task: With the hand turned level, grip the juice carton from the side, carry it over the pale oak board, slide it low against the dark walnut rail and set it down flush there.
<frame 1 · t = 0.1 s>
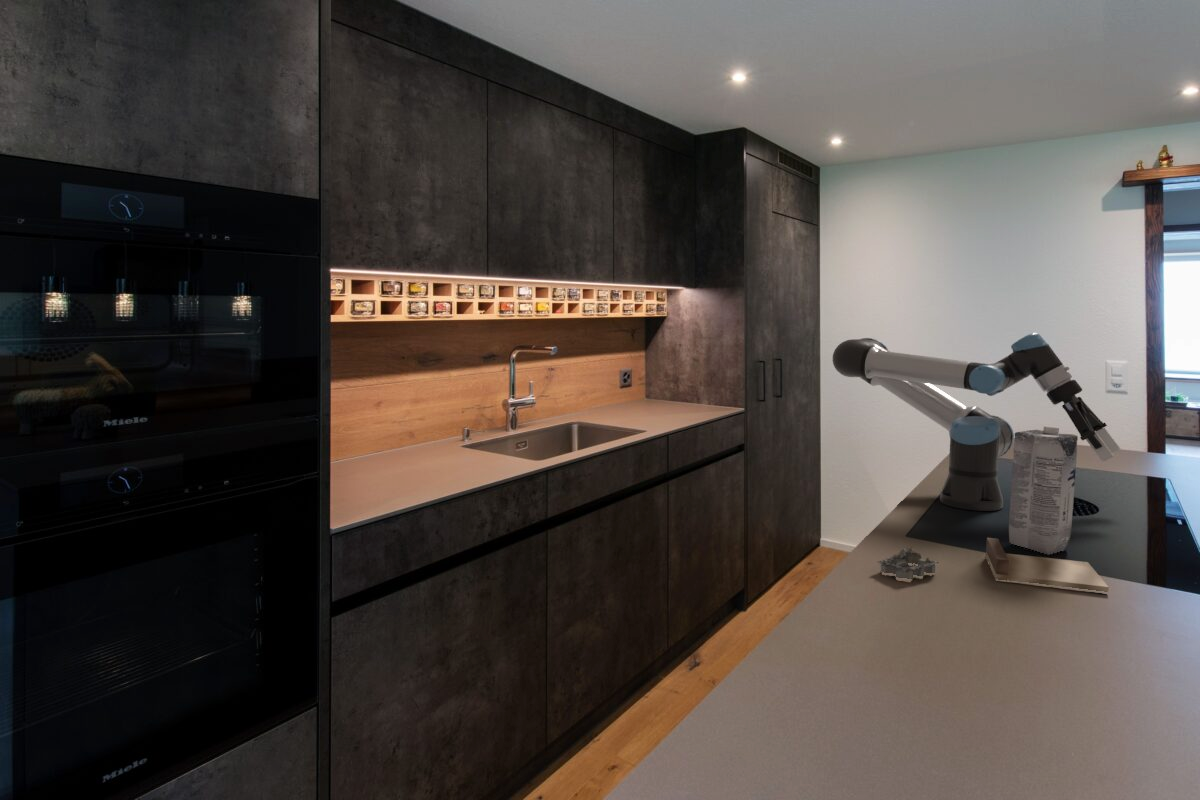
hand: (1112, 455, 177), 15 cm above the countertop, tool tilted 35°, fingers open, 13 cm apart
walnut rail: (996, 569, 139), resting on oak board
egg carton: (908, 576, 137), on the countertop
oak board: (1042, 575, 136), on the countertop
juice carton: (1037, 548, 152), on the countertop
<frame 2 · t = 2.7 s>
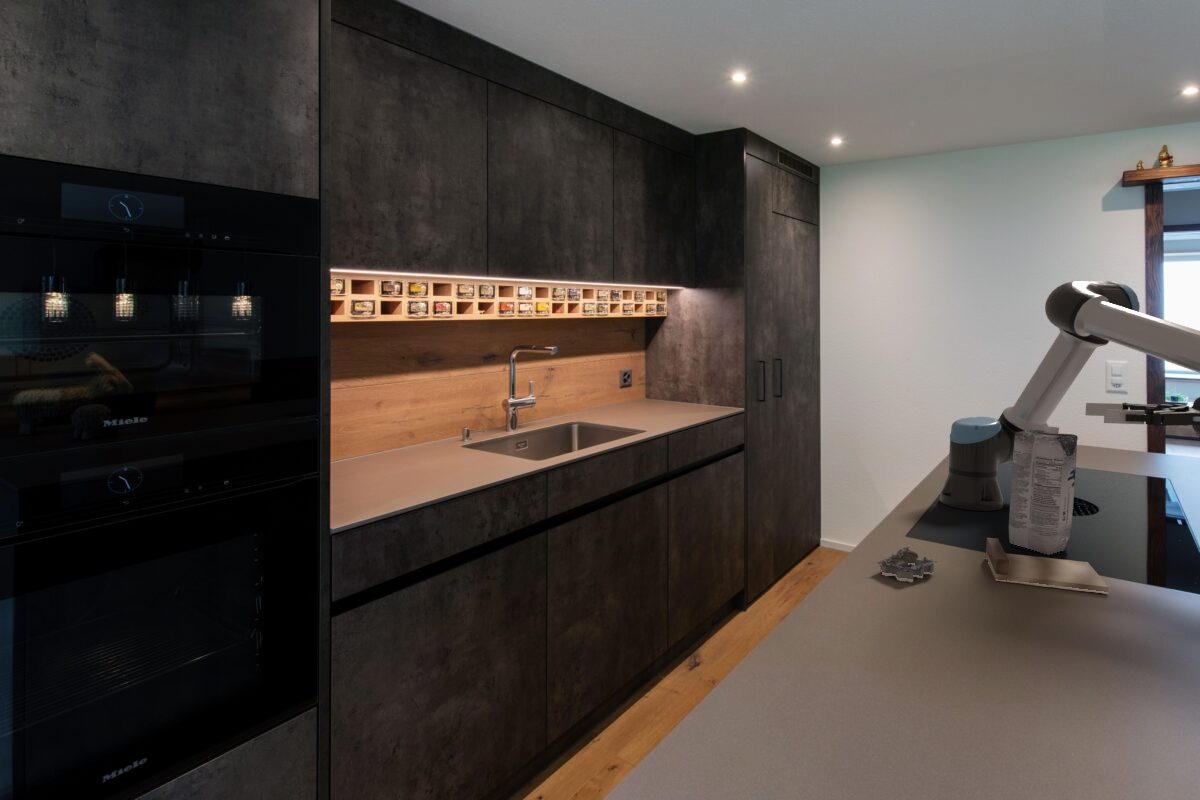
hand: (1094, 412, 146), 30 cm above the countertop, tool horizontal, fingers open, 13 cm apart
nothing on the countertop moved.
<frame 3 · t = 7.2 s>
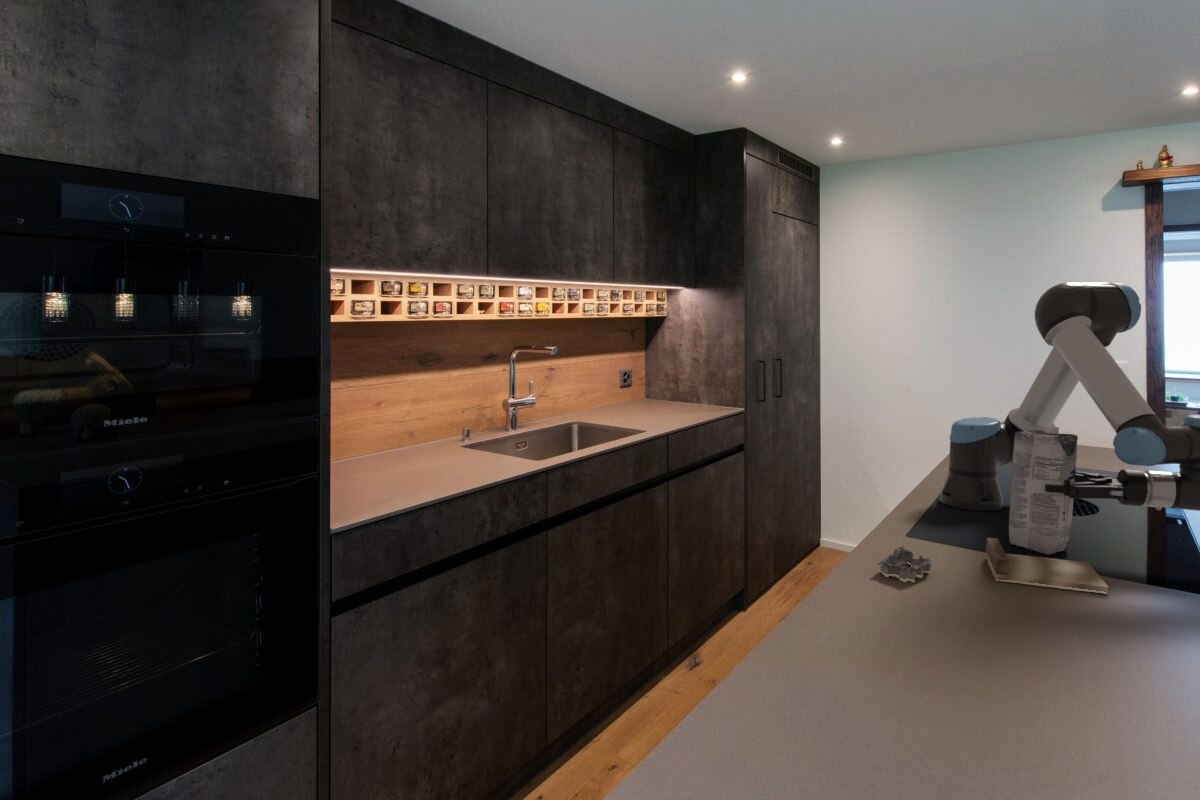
hand: (1021, 479, 152), 15 cm above the countertop, tool horizontal, fingers closed on juice carton, 11 cm apart
juice carton: (1037, 548, 152), on the countertop, touching gripper
everything else where it was.
when the fingers open (17 cm above the countertop, at t = 15.0 s): juice carton stays where it is, resting on oak board.
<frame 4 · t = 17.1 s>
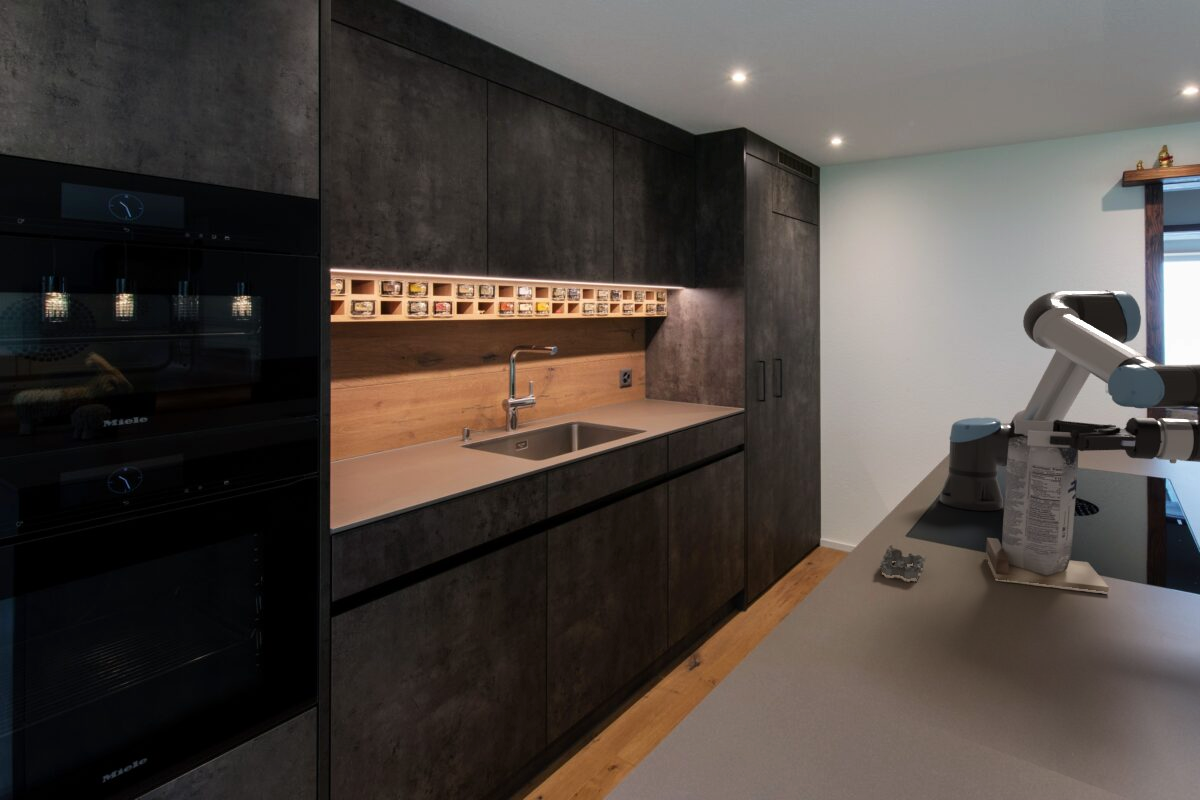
hand: (1021, 432, 134), 28 cm above the countertop, tool horizontal, fingers open, 13 cm apart
juice carton: (1034, 567, 136), point 1 cm above the countertop, touching oak board
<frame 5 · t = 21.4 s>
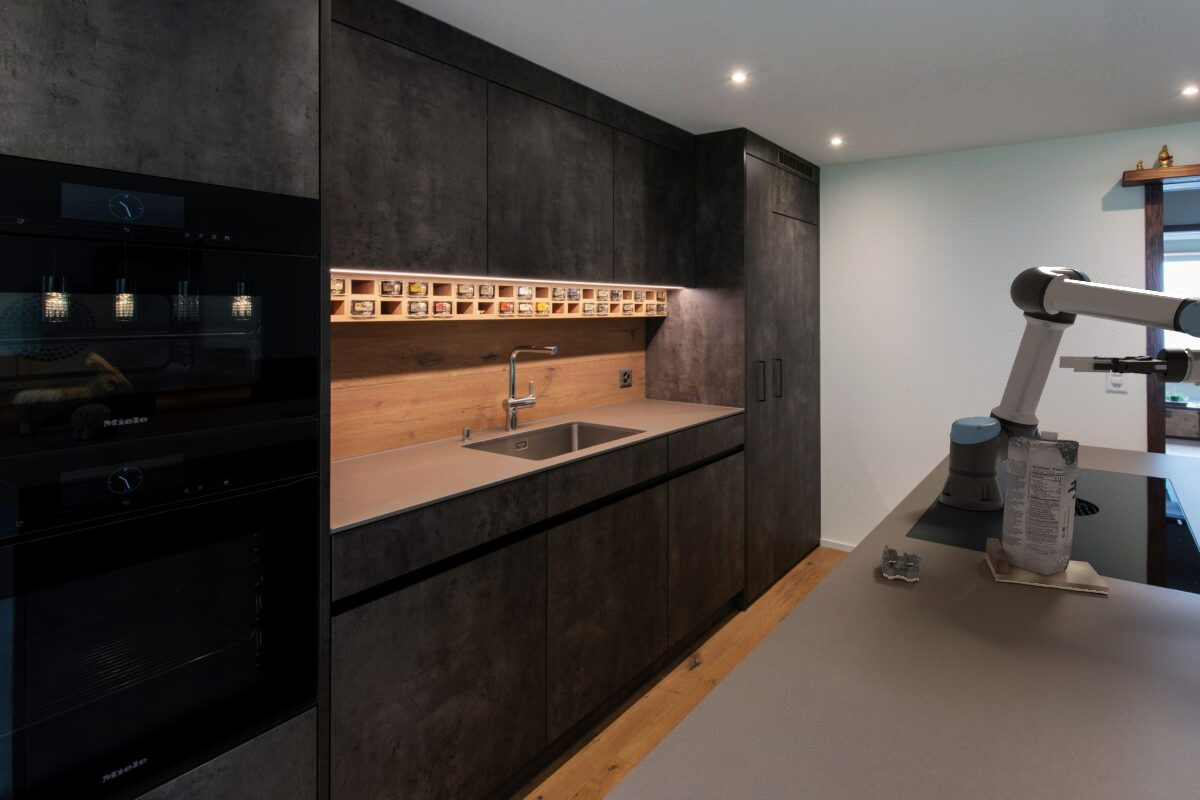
hand: (1066, 363, 157), 40 cm above the countertop, tool horizontal, fingers open, 13 cm apart
at the end: juice carton 6.6 cm from the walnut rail (horizontally); juice carton point 1.3 cm above the countertop; juice carton tilted 0° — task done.
